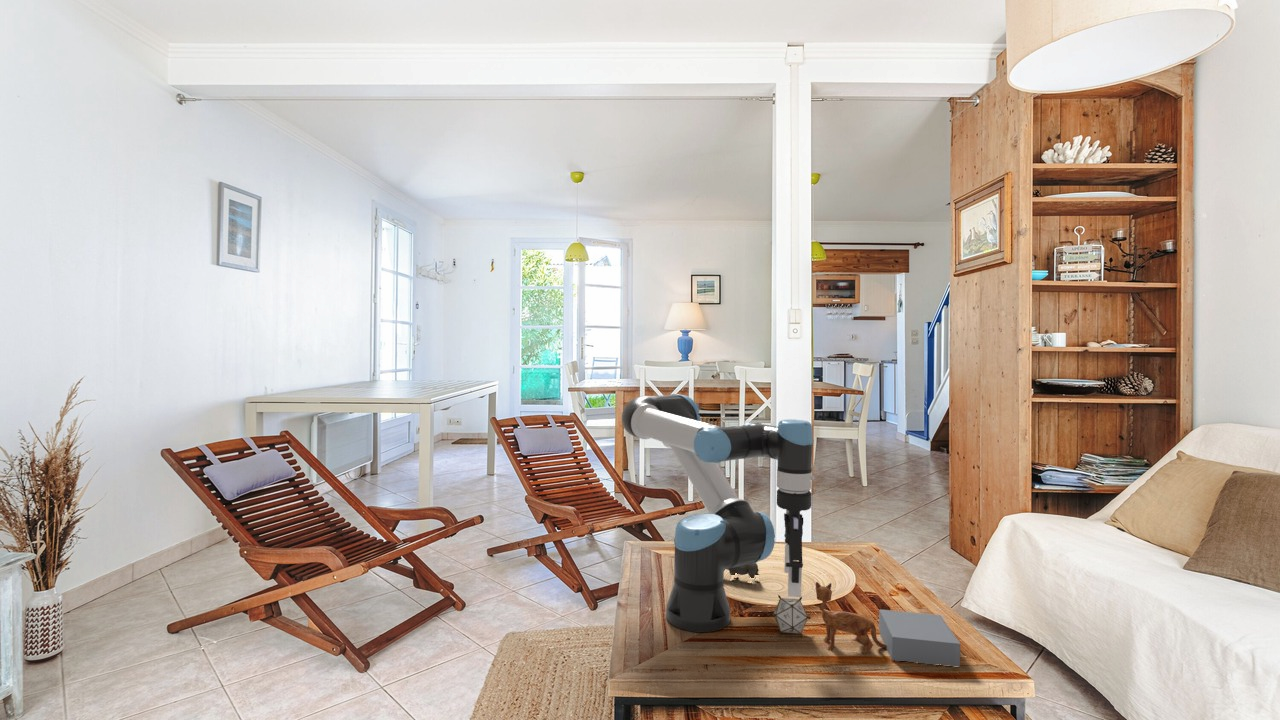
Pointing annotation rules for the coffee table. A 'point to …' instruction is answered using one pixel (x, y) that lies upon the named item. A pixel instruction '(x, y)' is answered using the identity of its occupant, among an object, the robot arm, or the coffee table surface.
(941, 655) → the stand
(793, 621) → the game die
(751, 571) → the dark grey animal figure
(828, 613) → the cat figurine
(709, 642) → the coffee table surface
